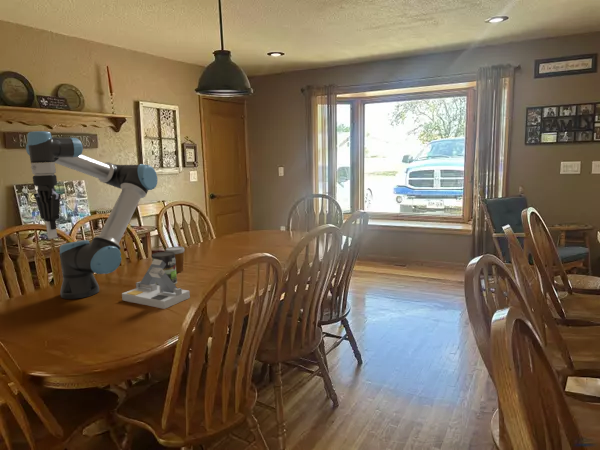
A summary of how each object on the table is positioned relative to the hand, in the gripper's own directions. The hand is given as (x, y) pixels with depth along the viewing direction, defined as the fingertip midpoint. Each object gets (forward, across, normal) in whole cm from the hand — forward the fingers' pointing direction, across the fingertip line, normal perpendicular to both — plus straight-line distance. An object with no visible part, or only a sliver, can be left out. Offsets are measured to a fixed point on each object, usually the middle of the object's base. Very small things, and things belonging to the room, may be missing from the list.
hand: (52, 237), depth 162 cm
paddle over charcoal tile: (+25, +29, +28) cm, 48 cm away
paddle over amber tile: (+25, +15, +28) cm, 40 cm away
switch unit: (+29, +22, +26) cm, 45 cm away
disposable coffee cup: (+30, -1, +62) cm, 69 cm away
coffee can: (+30, +9, +44) cm, 54 cm away
